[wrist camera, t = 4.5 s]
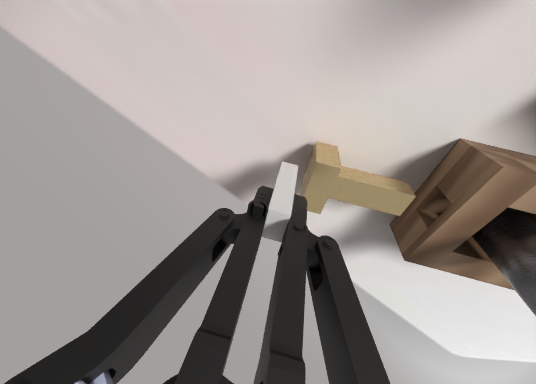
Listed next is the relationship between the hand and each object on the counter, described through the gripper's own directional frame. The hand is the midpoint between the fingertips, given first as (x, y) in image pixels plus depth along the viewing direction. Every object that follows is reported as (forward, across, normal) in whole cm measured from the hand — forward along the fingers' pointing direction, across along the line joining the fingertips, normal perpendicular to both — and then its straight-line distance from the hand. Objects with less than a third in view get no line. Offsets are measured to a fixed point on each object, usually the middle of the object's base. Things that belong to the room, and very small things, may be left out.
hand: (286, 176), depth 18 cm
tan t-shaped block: (+3, +6, 0) cm, 7 cm away
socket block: (+4, +19, 0) cm, 19 cm away
